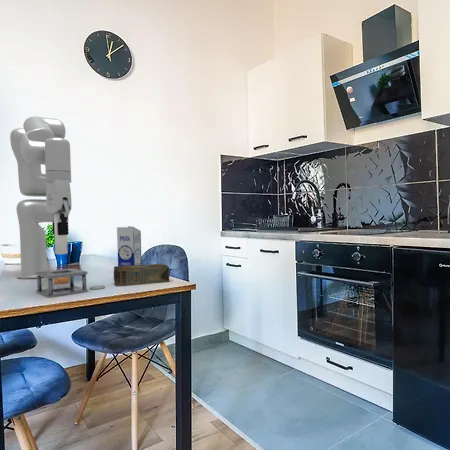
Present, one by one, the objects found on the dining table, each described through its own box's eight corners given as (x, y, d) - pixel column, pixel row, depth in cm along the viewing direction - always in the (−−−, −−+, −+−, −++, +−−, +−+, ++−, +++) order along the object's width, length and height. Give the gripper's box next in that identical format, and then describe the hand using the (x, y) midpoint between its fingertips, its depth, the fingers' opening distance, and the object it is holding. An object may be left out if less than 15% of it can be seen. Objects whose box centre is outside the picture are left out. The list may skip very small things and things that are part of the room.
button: (52, 283, 122) (52, 277, 122) (66, 281, 125) (65, 275, 125) (57, 284, 119) (57, 278, 119) (71, 283, 122) (71, 276, 122)
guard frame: (36, 292, 123) (35, 272, 123) (73, 286, 131) (72, 268, 131) (49, 297, 114) (48, 276, 114) (88, 291, 122) (87, 271, 122)
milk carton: (117, 278, 148) (116, 226, 147) (126, 275, 154) (125, 226, 154) (134, 278, 146) (133, 226, 146) (142, 275, 153) (141, 225, 152)
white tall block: (53, 254, 122) (51, 204, 122) (65, 253, 124) (63, 204, 124) (57, 254, 119) (55, 203, 119) (69, 253, 122) (67, 203, 121)
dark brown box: (170, 282, 137) (169, 264, 137) (115, 287, 130) (114, 268, 130) (165, 279, 144) (164, 261, 144) (113, 283, 137) (112, 265, 137)
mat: (86, 288, 127) (86, 287, 127) (101, 286, 131) (101, 285, 131) (93, 290, 124) (93, 289, 124) (107, 288, 127) (107, 286, 127)
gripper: (37, 179, 125) (39, 235, 125) (55, 174, 113) (57, 235, 113) (61, 180, 130) (63, 234, 130) (80, 175, 118) (82, 234, 118)
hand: (60, 234), depth 122 cm, fingers closed on white tall block, 3 cm apart
